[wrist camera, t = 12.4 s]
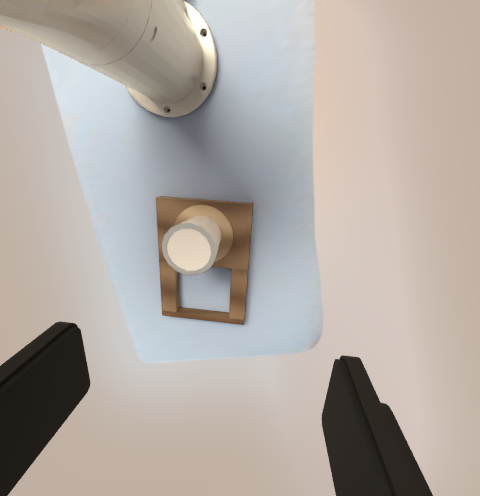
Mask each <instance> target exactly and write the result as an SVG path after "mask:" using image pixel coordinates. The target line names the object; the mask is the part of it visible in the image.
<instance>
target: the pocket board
mask: <svg viewBox="0 0 480 496" xmlns="http://www.w3.org/2000/svg"><path fill="white" fill-rule="evenodd" d="M156 207H157V226H158V245H159V264H160V283H161V301H162V315H163V316H171V317H180V318H189V319H198V320H207V321H215V322H224V323H233V324H242V325H244V319H245V306H246V292H247V279H248V265H249V252H250V238H251V225H252V211H253V203H242V202H229V201H216V200H202V199H189V198H176V197H162V196H160V197H157V198H156ZM196 216H206V217H209V218H211V219H213V220H214V221H215V222H216V223H217V224H218V226H219V228H220V230H221V240H220V244H219V247H218V251H217V254H216V257H215V260H214V263H213V265H212V266H211V267H221V268H232V270H231V289H230V309H229V313H227V312H218V311H209V310H200V309H191V308H182V307H179V280H178V272H177V271H176V270H175V269H173V268H172V267H171V266H170V265H169V264H168V263H167V261H166V259H165V257H164V256H163V250H162V242H163V238H164V235H165V234H166V233H167V232H168V230H169V229H170V228H171V227H173V226H176V225H178V224H180V223H182V222H185V221H187V220H189V219H191V218H194V217H196Z"/></svg>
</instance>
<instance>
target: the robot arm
mask: <svg viewBox="0 0 480 496" xmlns="http://www.w3.org/2000/svg"><path fill="white" fill-rule="evenodd" d="M0 28H2V29H6V30H9V31H11V32H14V33H17V34H20V35H23V36H25V37H27V38H30V39H32V40H35V41H37V42H39V43H41V44H43V45H46V46H48V47H50V48H52V49H54V50H56V51H58V52H60V53H62V54H64V55H66V56H68V57H70V58H72V59H74V60H76V61H78V62H80V63H82V64H84V65H86V66H88V67H90V68H92V69H94V70H96V71H98V72H100V73H102V74H104V75H106V76H108V77H110V78H112V79H114V80H116V81H118V82H120V83H122V84H124V85H125V87H126V89H127V90H128V92H129V93H130V95H131V96H132V97H133V99H134V100H135V101H136V102H137V103H138V104H139V105H140V106H142V107H143V108H145V109H146V110H148V111H150V112H152V113H154V114H157V115H160V116H163V117H181V116H183V115H186V114H189V113H191V112H192V111H194V110H196V109H197V108H198V107H199V106H200V105H201V104H202V103H203V102H204V101H205V99H206V98H207V97H208V95H209V93H210V91H211V89H212V87H213V84H214V81H215V77H216V71H217V51H216V47H215V42H214V39H213V36H212V34H211V31H210V29H209V27H208V25H207V23H206V21H205V20H204V18H203V17H202V16H201V14H200V13H199V12H198V11H197V10H196V9H195V8H194V7H193V6H192V5H191V4H189V3H188V2H186V1H184V0H0ZM204 34H207V36H206V37H203V36H204ZM204 86H206V90H203V87H204ZM168 109H170V112H168ZM89 387H90V378H89V373H88V367H87V362H86V356H85V351H84V345H83V340H82V335H81V330H80V329H79V328H78V327H77V325H76V324H74V323H66V322H57V323H55V324H54V325H52V326H51V327H50V328H49V329H47V330H46V331H45V332H44V333H42V334H41V335H40V336H38V337H37V338H36V339H35V340H33V341H32V342H31V343H29V344H28V345H27V346H25V347H24V348H23V349H21V350H20V351H19V352H18V353H17V354H15V355H14V356H13V357H11V358H10V359H9V360H7V361H6V362H5V363H3V364H2V365H1V366H0V496H7V495H8V494H9V493H10V491H11V490H12V489H13V488H14V486H15V485H16V484H17V482H18V481H19V480H20V479H21V477H22V476H23V475H24V473H25V472H26V471H27V469H28V468H29V467H30V466H31V464H32V463H33V462H34V460H35V459H36V458H37V456H38V455H39V454H40V453H41V451H42V450H43V449H44V447H45V446H46V445H47V444H48V442H49V441H50V440H51V438H52V437H53V436H54V435H55V433H56V432H57V431H58V429H59V428H60V427H61V426H62V424H63V423H64V422H65V420H66V419H67V418H68V416H69V415H70V414H71V413H72V411H73V410H74V409H75V407H76V406H77V405H78V404H79V402H80V401H81V400H82V398H83V397H84V396H85V394H86V393H87V392H88V389H89ZM322 427H323V432H324V437H325V442H326V447H327V452H328V456H329V462H330V467H331V472H332V477H333V482H334V487H335V492H336V496H433V495H432V493H431V491H430V489H429V486H428V484H427V482H426V480H425V478H424V476H423V474H422V472H421V470H420V468H419V466H418V464H417V462H416V460H415V458H414V456H413V453H412V451H411V449H410V447H409V446H408V443H407V441H406V439H405V437H404V435H403V433H402V431H401V429H400V427H399V425H398V423H397V420H396V419H395V416H394V414H393V412H392V411H391V409H390V407H389V406H388V405H387V404H384V403H380V401H379V398H378V396H377V394H376V392H375V390H374V388H373V386H372V383H371V381H370V379H369V376H368V374H367V372H366V370H365V368H364V365H363V363H362V361H361V359H360V358H359V357H350V356H341V357H340V360H338V359H335V361H334V365H333V369H332V374H331V378H330V382H329V387H328V391H327V396H326V400H325V404H324V409H323V413H322Z"/></svg>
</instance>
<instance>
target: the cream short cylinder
mask: <svg viewBox="0 0 480 496" xmlns="http://www.w3.org/2000/svg"><path fill="white" fill-rule="evenodd" d="M220 240H221V230H220V228H219V226H218V224H217V223H216V222H215V221H214V220H213V219H211V218H209V217H206V216H196V217H194V218H191V219H189V220H187V221H185V222H182V223H180V224H178V225H176V226H173V227H171V228H170V229H169V230H168V232H167V233H166V234H165V235H164V238H163V242H162V250H163V256H164V257H165V259H166V261H167V263H168V264H169V265H170V266H171V267H172V268H173V269H175V270H176V271H177V272H180V273H183V274H185V275H198V274H201V273H203V272H206V271H207V270H208V269H209V268H210V267H211V266H212V265H213V263H214V260H215V257H216V254H217V251H218V247H219V244H220Z"/></svg>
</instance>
